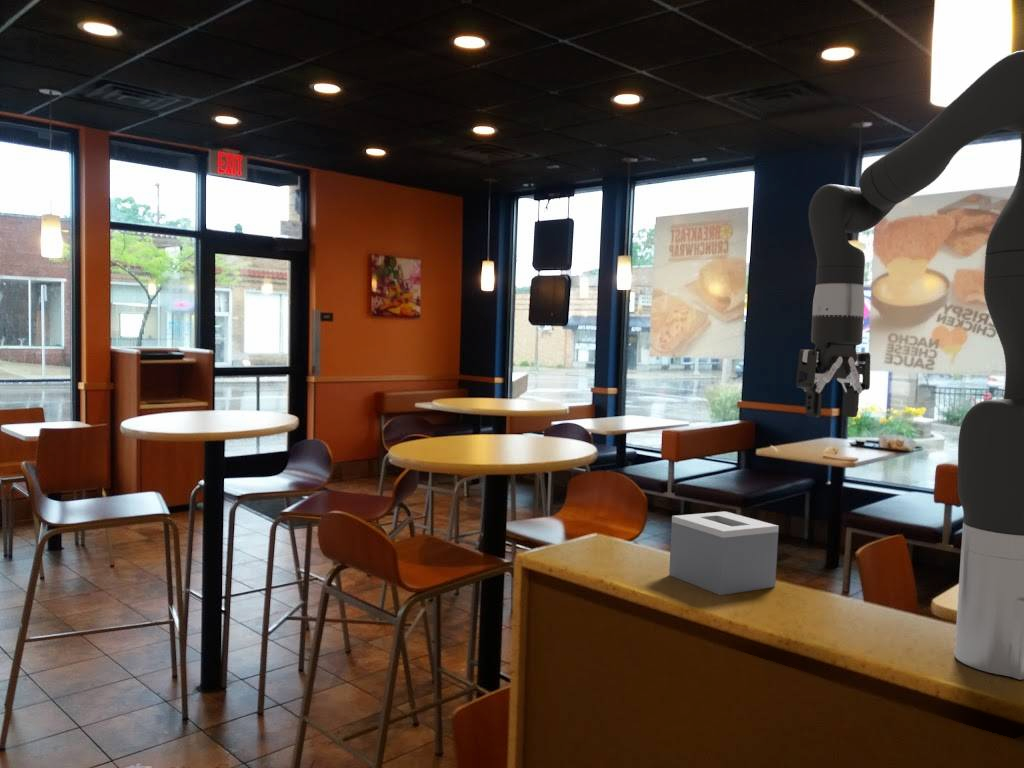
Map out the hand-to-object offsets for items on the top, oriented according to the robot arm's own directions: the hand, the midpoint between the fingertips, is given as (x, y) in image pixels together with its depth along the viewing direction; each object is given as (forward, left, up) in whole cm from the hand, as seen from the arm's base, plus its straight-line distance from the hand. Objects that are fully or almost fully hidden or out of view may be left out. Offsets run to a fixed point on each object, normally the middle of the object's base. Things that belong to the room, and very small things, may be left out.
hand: (831, 416), depth 129 cm
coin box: (+11, +11, -28) cm, 32 cm away
